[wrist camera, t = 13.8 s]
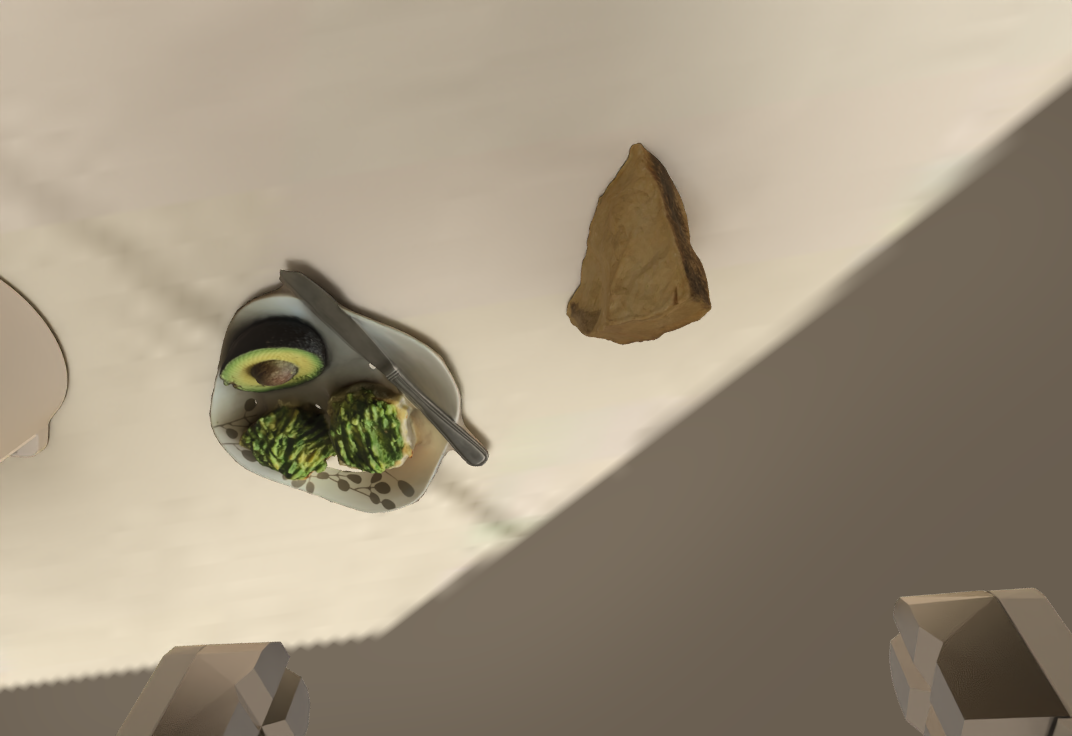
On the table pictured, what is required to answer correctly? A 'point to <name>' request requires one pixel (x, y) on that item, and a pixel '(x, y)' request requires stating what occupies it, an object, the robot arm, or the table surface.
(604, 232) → the rock
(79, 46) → the table surface
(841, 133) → the table surface
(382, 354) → the plate of avocado toast
